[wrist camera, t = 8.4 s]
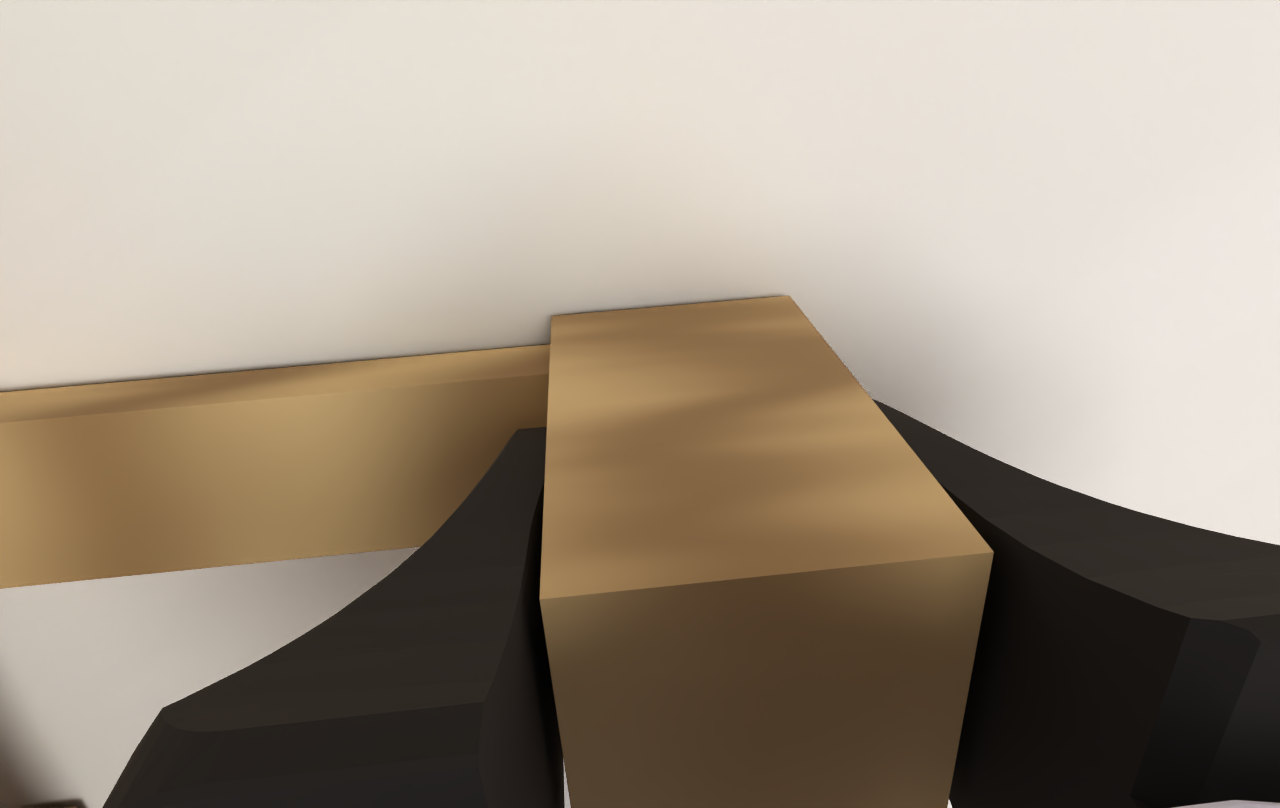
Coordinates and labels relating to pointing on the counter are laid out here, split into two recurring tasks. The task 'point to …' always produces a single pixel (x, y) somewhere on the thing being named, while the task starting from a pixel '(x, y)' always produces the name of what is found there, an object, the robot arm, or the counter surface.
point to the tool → (580, 534)
